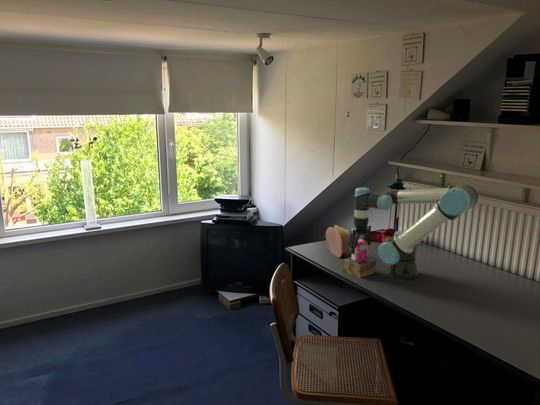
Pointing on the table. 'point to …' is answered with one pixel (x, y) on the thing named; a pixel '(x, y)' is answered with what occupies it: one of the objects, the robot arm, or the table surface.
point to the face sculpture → (338, 241)
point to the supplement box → (361, 251)
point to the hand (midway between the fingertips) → (359, 257)
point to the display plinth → (359, 267)
